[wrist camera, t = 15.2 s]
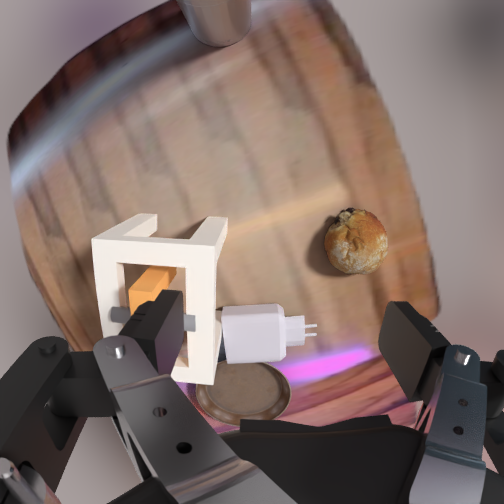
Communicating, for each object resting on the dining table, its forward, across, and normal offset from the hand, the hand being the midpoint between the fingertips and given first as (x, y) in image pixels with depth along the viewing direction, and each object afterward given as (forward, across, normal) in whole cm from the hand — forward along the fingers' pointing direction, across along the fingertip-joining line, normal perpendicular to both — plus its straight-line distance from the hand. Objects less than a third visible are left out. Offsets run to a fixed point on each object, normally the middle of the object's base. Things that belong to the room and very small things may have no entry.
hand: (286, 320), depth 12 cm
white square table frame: (+36, +12, +12) cm, 40 cm away
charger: (+37, -3, +21) cm, 42 cm away
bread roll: (+36, -15, +5) cm, 40 cm away
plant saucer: (+37, +1, +35) cm, 51 cm away
